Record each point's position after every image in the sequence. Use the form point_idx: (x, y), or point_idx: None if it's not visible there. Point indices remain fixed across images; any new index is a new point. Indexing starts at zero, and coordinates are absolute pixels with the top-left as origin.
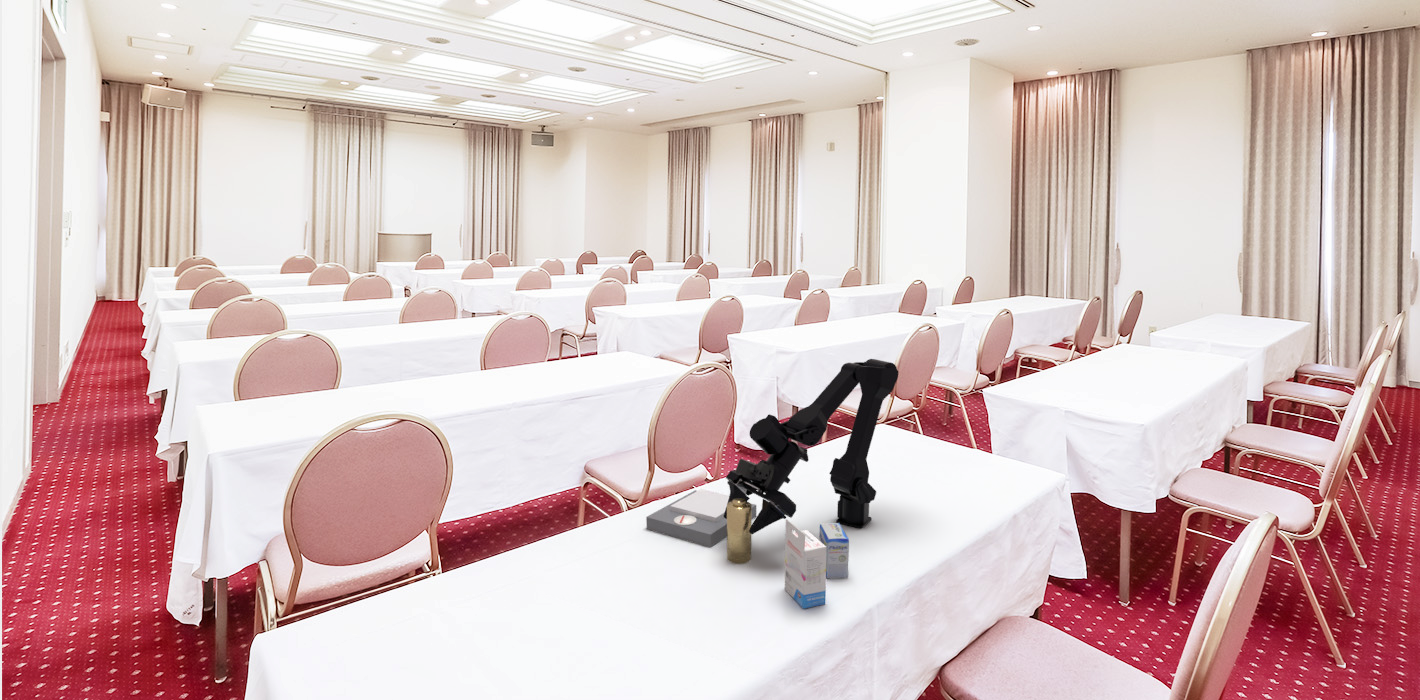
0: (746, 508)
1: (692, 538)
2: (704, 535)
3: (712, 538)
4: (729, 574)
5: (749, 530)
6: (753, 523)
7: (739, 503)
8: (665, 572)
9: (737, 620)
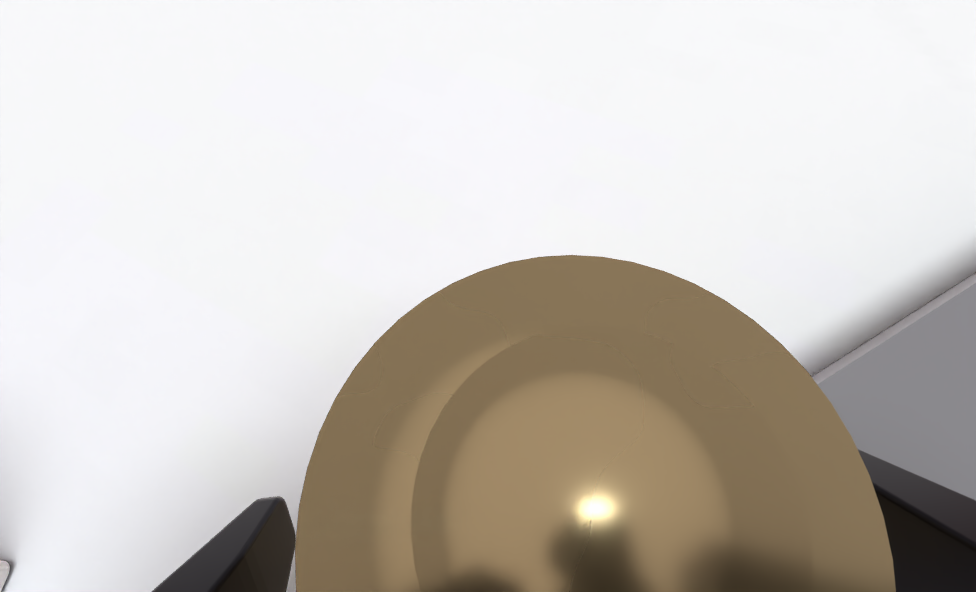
0: (320, 565)
1: (881, 336)
2: (833, 371)
3: None
4: None
5: (264, 501)
6: (207, 577)
7: (435, 422)
8: (551, 106)
9: (9, 193)
